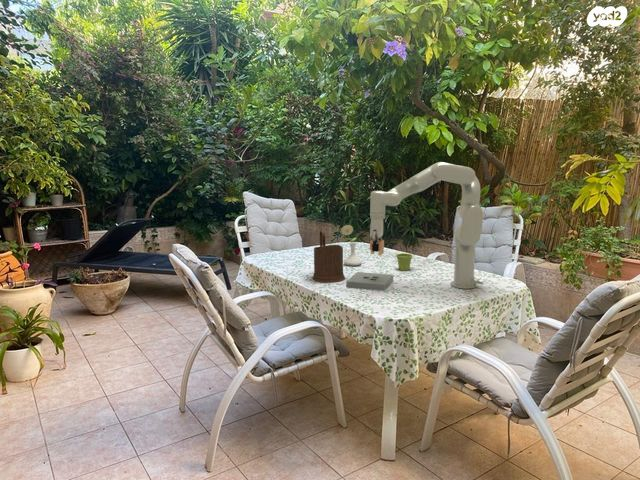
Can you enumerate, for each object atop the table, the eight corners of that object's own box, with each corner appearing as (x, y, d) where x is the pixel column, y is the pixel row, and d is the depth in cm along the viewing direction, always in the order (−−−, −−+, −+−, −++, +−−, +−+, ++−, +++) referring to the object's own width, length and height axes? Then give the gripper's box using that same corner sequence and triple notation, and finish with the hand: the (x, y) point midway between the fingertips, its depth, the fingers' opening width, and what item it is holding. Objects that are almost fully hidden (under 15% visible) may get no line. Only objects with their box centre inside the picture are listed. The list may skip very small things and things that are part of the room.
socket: (393, 280, 239) (393, 274, 238) (384, 290, 220) (384, 284, 220) (357, 277, 246) (357, 272, 245) (346, 286, 228) (346, 281, 227)
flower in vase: (362, 262, 280) (362, 223, 275) (362, 267, 269) (362, 226, 264) (341, 262, 281) (341, 223, 277) (340, 266, 270) (340, 226, 266)
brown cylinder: (316, 284, 233) (316, 237, 229) (306, 273, 256) (305, 230, 252) (350, 281, 238) (349, 235, 234) (336, 270, 261) (336, 228, 256)
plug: (383, 253, 230) (384, 240, 229) (381, 255, 224) (381, 242, 223) (372, 252, 232) (372, 239, 231) (369, 254, 227) (369, 241, 225)
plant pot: (411, 272, 255) (411, 257, 254) (394, 270, 258) (394, 256, 257) (413, 268, 264) (413, 253, 262) (397, 267, 267) (397, 253, 265)
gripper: (374, 213, 234) (373, 246, 237) (366, 217, 218) (365, 252, 221) (388, 213, 231) (387, 247, 235) (381, 217, 215) (380, 254, 219)
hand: (376, 249), depth 228 cm, fingers closed on plug, 6 cm apart
